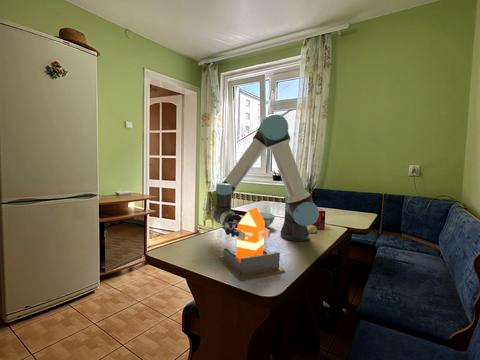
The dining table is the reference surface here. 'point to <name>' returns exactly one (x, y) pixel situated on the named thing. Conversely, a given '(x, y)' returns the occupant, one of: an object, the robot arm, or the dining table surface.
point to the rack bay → (252, 264)
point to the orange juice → (251, 234)
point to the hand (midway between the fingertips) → (256, 235)
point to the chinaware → (267, 218)
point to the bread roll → (312, 229)
